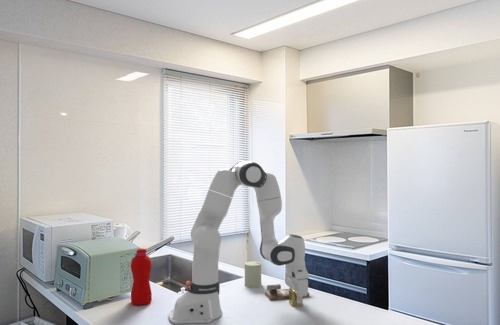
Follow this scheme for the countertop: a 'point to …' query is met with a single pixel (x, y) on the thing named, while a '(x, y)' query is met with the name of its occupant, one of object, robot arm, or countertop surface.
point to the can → (252, 274)
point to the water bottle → (141, 278)
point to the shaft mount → (277, 292)
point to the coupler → (294, 298)
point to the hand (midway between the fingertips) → (295, 299)
